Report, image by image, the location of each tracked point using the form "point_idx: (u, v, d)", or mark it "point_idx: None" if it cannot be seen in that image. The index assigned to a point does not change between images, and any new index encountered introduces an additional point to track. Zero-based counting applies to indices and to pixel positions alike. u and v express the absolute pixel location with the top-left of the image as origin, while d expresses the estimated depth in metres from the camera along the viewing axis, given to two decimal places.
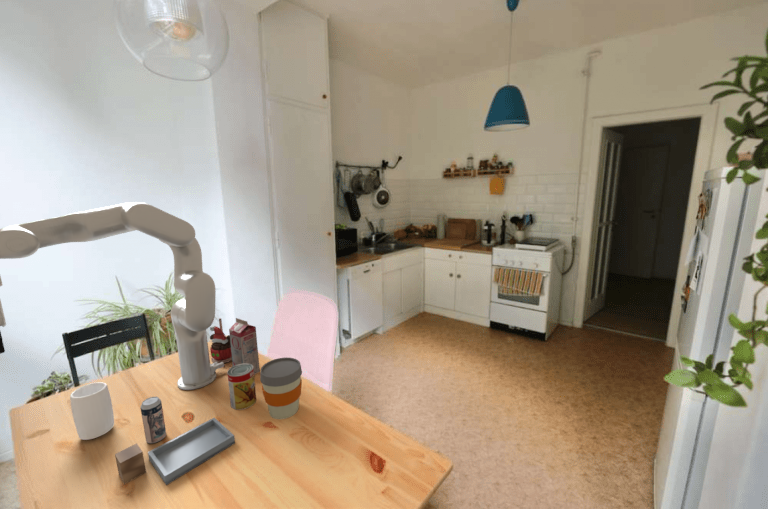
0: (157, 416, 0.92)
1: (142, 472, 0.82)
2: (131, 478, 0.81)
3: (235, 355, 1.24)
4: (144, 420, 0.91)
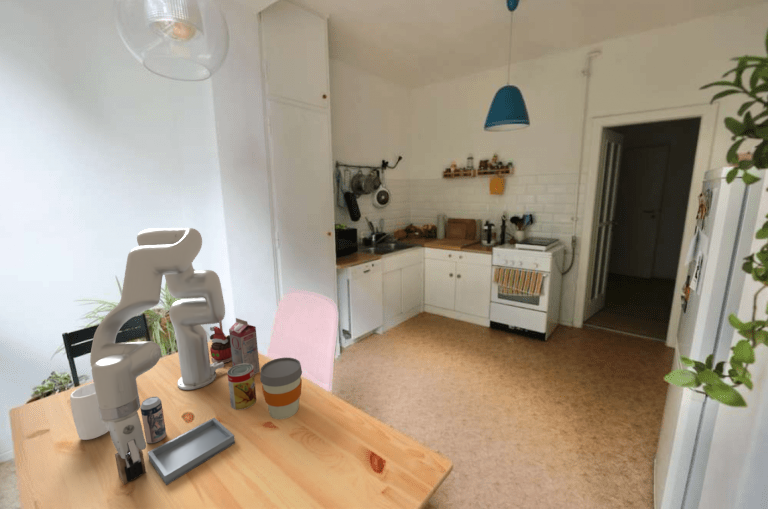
0: (157, 416, 0.92)
1: None
2: None
3: (235, 355, 1.24)
4: (144, 420, 0.91)
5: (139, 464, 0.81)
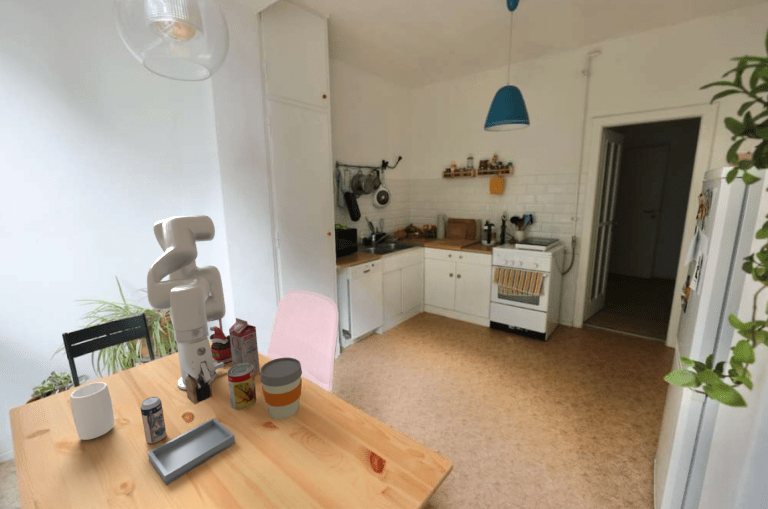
0: (157, 416, 0.92)
1: None
2: None
3: (235, 355, 1.24)
4: (144, 420, 0.91)
5: (207, 387, 0.88)
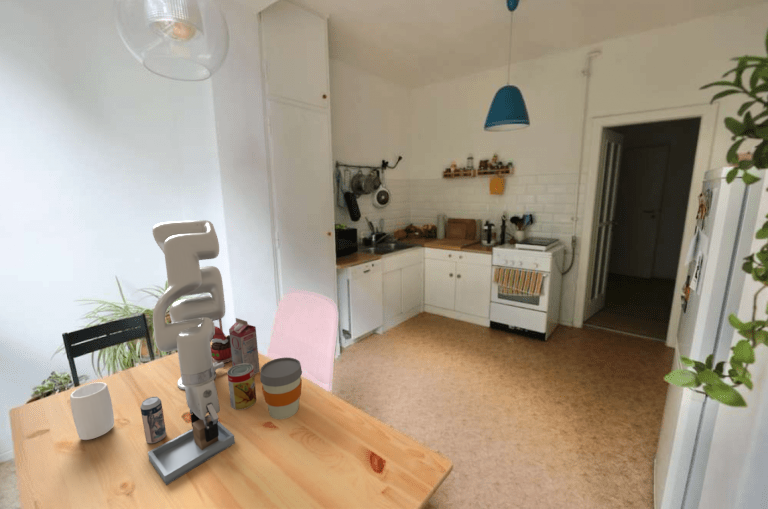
0: (157, 416, 0.92)
1: (215, 440, 0.92)
2: (207, 444, 0.90)
3: (235, 355, 1.24)
4: (144, 420, 0.91)
5: (216, 427, 0.89)
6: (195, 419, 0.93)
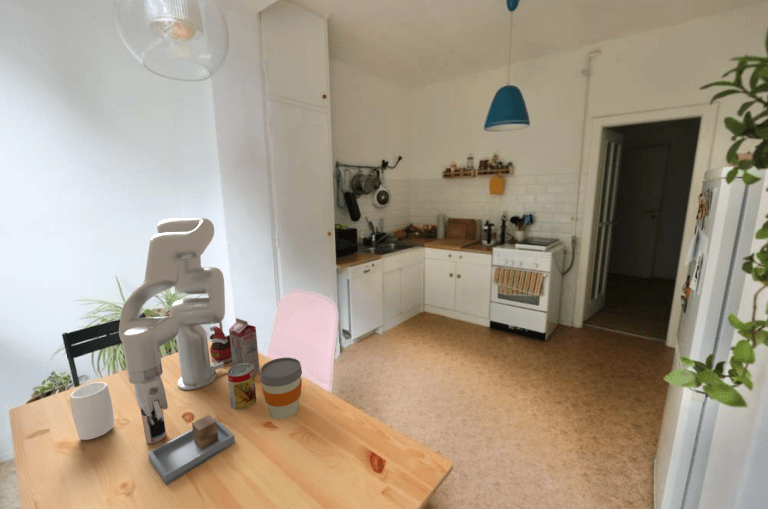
0: None
1: (215, 440, 0.92)
2: (207, 444, 0.90)
3: (235, 355, 1.24)
4: (144, 420, 0.91)
5: (162, 423, 0.92)
6: None
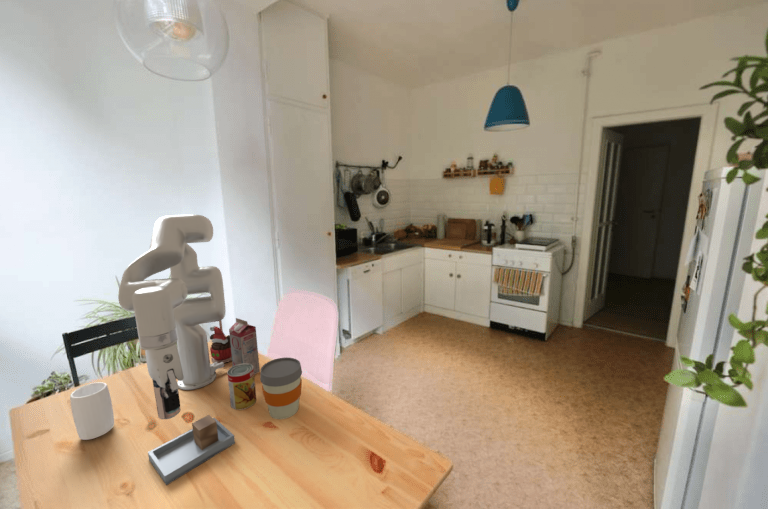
0: None
1: (215, 440, 0.92)
2: (207, 444, 0.90)
3: (235, 355, 1.24)
4: (156, 393, 0.80)
5: (176, 396, 0.82)
6: None
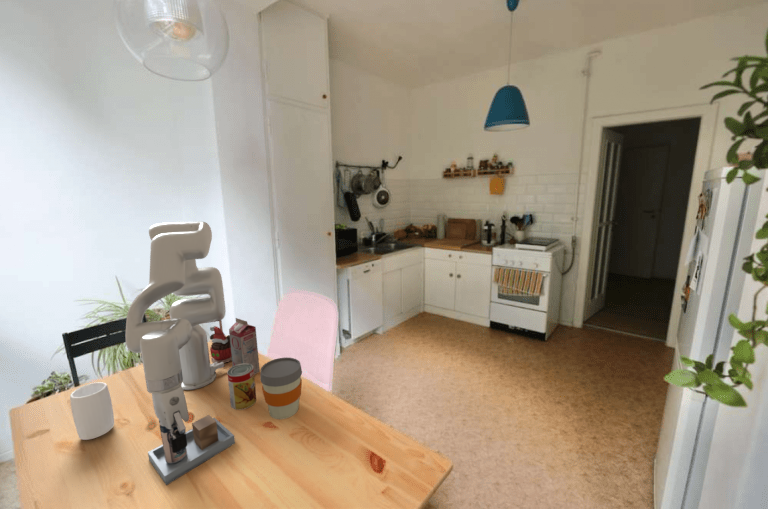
0: None
1: (215, 440, 0.92)
2: (207, 444, 0.90)
3: (235, 355, 1.24)
4: (164, 438, 0.83)
5: (184, 436, 0.83)
6: None
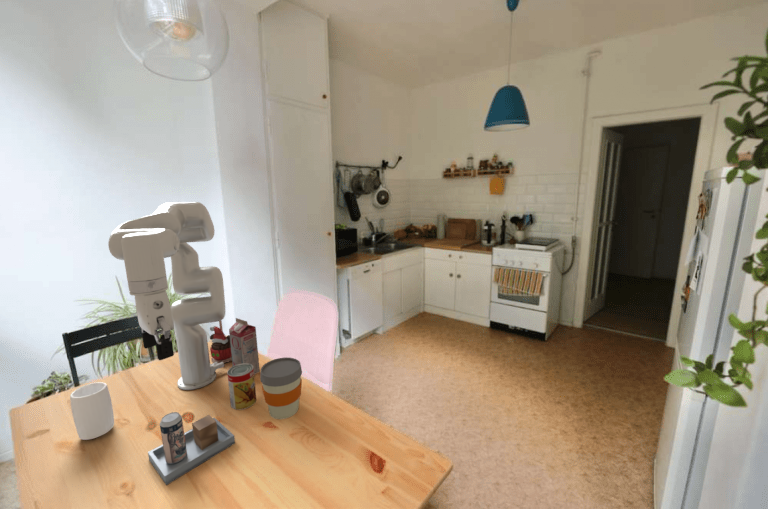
0: (178, 434, 0.84)
1: (215, 440, 0.92)
2: (207, 444, 0.90)
3: (235, 355, 1.24)
4: (164, 438, 0.83)
5: (170, 344, 0.79)
6: (147, 339, 0.83)
